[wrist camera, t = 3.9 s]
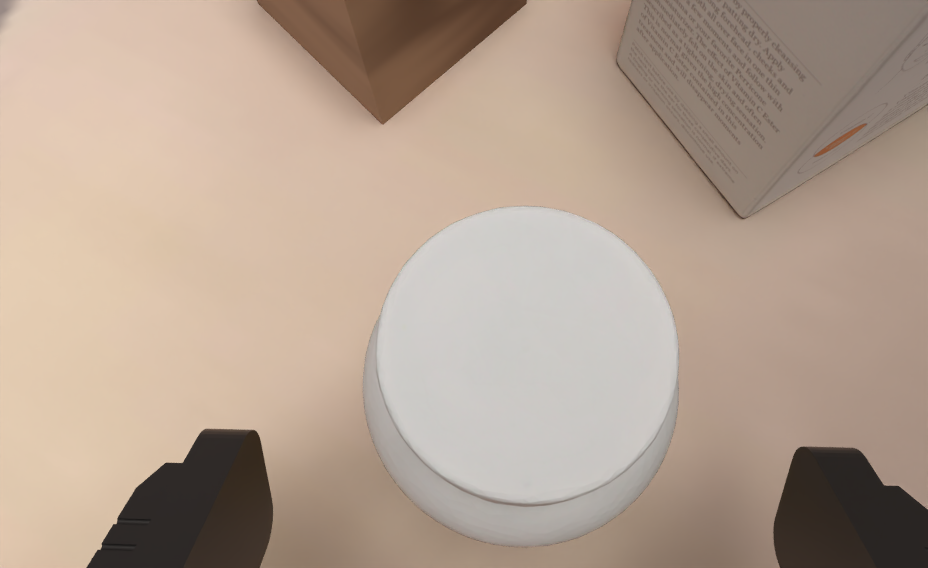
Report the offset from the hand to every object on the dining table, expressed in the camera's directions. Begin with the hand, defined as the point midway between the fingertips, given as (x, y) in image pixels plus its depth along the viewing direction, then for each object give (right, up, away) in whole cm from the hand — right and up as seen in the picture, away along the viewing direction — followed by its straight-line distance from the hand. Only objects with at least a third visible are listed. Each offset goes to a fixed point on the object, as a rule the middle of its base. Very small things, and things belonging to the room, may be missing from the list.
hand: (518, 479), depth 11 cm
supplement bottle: (0, -1, +8) cm, 8 cm away
